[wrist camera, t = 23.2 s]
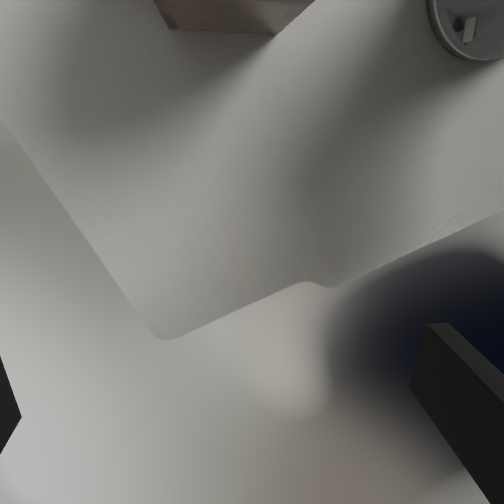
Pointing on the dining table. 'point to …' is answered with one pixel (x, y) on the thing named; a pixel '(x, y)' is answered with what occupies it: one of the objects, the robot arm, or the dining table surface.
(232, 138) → the dining table surface
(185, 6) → the box
